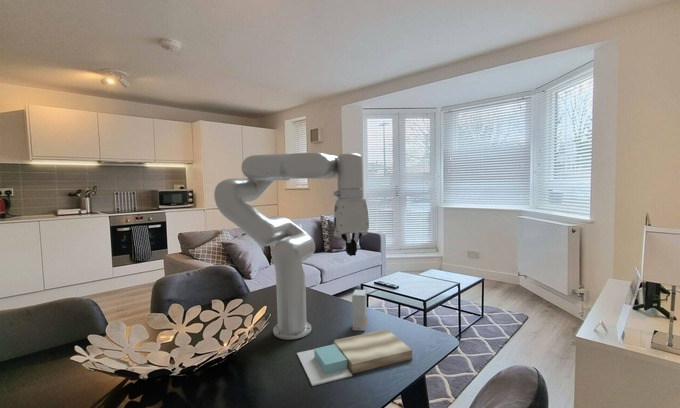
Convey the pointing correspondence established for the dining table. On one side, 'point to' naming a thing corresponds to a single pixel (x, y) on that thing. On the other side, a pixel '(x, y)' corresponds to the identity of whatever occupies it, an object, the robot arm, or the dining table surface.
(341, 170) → the robot arm
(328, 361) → the tile
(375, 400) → the dining table surface
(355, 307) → the skincare box
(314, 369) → the mat
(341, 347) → the beige brown rectangular slab
